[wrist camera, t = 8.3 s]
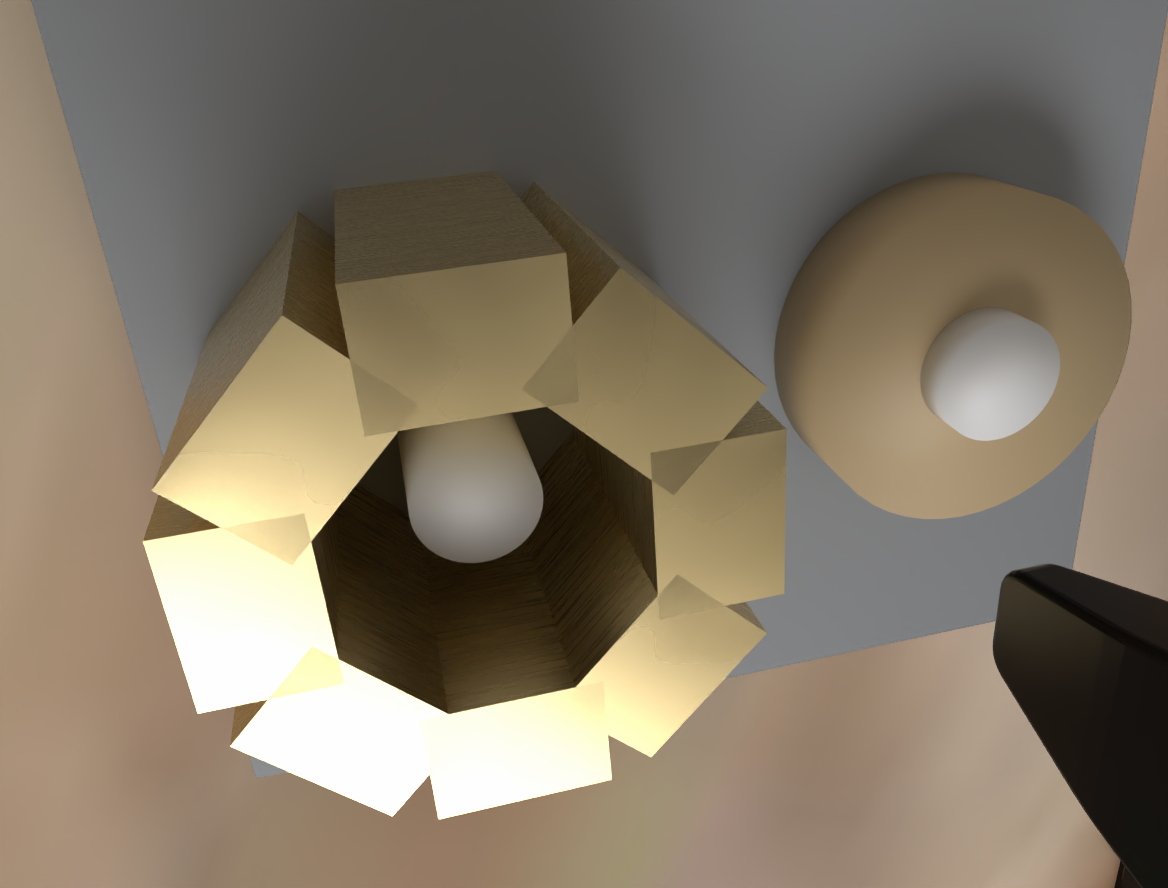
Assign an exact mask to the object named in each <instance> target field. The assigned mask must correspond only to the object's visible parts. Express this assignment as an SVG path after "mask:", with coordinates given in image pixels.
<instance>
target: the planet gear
mask: <svg viewBox="0 0 1168 888" xmlns="http://www.w3.org/2000/svg"><path fill="white" fill-rule="evenodd" d="M334 200H335V237H333V236H332V235H330V234H329V233H328V232H326V231H325V230H323V229H322V228H321V227H319V226H318V225H316V224H315V223H314V222H312V221H311V220H309V219H308V218H307V217H305V216H304V215H302V214H301V213H300V212H298V211H297V213H296V214H295V215H294V217H293V218H292V220H291V221H290V222H289V224H288V225H287V226H286V228H285V229H284V231H283V232H282V233H281V235H280V236H279V237H278V239H277V240H276V242H275V243H274V244H273V246H272V247H271V248H270V250H269V251H268V253H267V254H266V255H265V257H264V258H263V259H262V261H261V262H260V264H259V265H258V266H257V268H256V269H255V271H254V272H253V273H252V275H251V276H250V277H249V279H248V280H247V282H246V283H245V284H244V286H243V287H242V288H241V290H240V291H239V293H238V294H237V295H236V297H235V298H234V299H233V301H232V302H231V304H230V305H229V306H228V308H227V309H226V310H225V312H224V313H223V315H222V316H221V317H220V319H219V320H218V321H217V323H216V324H215V326H214V327H213V328H212V330H211V331H210V332H209V334H208V335H207V337H206V339H205V342H204V345H203V348H202V350H201V353H200V356H199V359H198V362H197V365H196V367H195V370H194V373H193V376H192V379H191V381H190V384H189V387H188V390H187V393H186V396H185V398H184V401H183V404H182V407H181V410H180V412H179V415H178V418H177V421H176V424H175V427H174V429H173V432H172V435H171V438H170V441H169V443H168V446H167V449H166V452H165V455H164V458H163V460H162V463H161V466H160V469H159V472H158V474H157V477H156V480H155V483H154V486H153V489H152V491H153V492H155V493H157V494H159V495H158V498H157V501H156V504H155V507H154V510H153V513H152V516H151V519H150V522H149V525H148V528H147V531H146V534H145V537H144V540H143V543H144V546H145V549H146V553H147V556H148V559H149V562H150V565H151V568H152V571H153V574H154V578H155V581H156V584H157V587H158V590H159V593H160V596H161V600H162V603H163V606H164V609H165V612H166V615H167V618H168V622H169V625H170V628H171V631H172V634H173V637H174V640H175V643H176V647H177V650H178V653H179V656H180V659H181V662H182V665H183V669H184V672H185V675H186V678H187V681H188V684H189V687H190V691H191V694H192V697H193V700H194V703H195V706H196V709H197V712H198V714H199V713H204V712H209V711H214V710H219V709H223V708H228V707H233V706H235V713H234V721H233V728H232V736H231V743H230V747H232V748H235V749H237V750H239V751H242V752H244V753H246V754H249V755H251V756H253V757H256V758H258V759H260V760H263V761H265V762H267V763H270V764H272V765H274V766H277V767H279V768H281V769H284V770H286V771H288V772H291V773H293V774H295V775H298V776H300V777H302V778H305V779H307V780H309V781H312V782H314V783H316V784H319V785H321V786H323V787H325V788H328V789H330V790H332V791H335V792H337V793H339V794H342V795H344V796H346V797H349V798H351V799H353V800H356V801H358V802H360V803H363V804H365V805H367V806H370V807H372V808H374V809H377V810H379V811H381V812H384V813H386V814H388V815H391V816H393V815H394V814H395V813H396V812H397V811H398V810H399V809H400V807H401V806H402V805H403V804H404V803H405V802H406V801H407V799H408V798H409V797H410V796H411V795H412V794H413V793H414V791H415V790H416V789H417V788H418V787H419V786H420V785H421V783H422V782H423V781H424V780H425V779H426V778H427V777H428V775H429V774H430V777H431V782H432V787H433V792H434V797H435V803H436V808H437V813H438V818H439V819H443V818H447V817H452V816H456V815H460V814H465V813H469V812H473V811H478V810H482V809H486V808H491V807H495V806H499V805H504V804H508V803H512V802H517V801H521V800H525V799H530V798H534V797H538V796H543V795H547V794H551V793H556V792H560V791H564V790H569V789H573V788H577V787H582V786H586V785H590V784H595V783H599V782H603V781H608V780H612V777H611V765H610V754H609V742H608V735H610V736H612V737H614V738H616V739H618V740H620V741H622V742H623V743H625V744H627V745H629V746H631V747H633V748H635V749H637V750H638V751H640V752H642V753H644V754H646V755H648V756H650V757H652V756H653V755H654V754H655V753H656V751H657V750H658V749H659V748H660V747H661V746H662V745H663V744H664V743H665V742H666V741H667V740H668V739H669V738H670V736H671V735H672V734H673V733H674V732H675V731H676V730H677V729H678V728H679V727H680V726H681V725H682V724H683V723H684V721H685V720H686V719H687V718H688V717H689V716H690V715H691V714H692V713H693V712H694V711H695V710H696V709H697V708H698V707H699V705H700V704H701V703H702V702H703V701H704V700H705V699H706V698H707V697H708V696H709V695H710V694H711V693H712V692H713V690H714V689H715V688H716V687H717V686H718V685H719V684H720V683H721V682H722V681H723V680H724V679H725V678H726V677H727V675H728V674H729V673H730V672H731V671H732V670H733V669H734V668H735V667H736V666H737V665H738V664H739V663H740V662H741V661H742V659H743V658H744V657H745V656H746V655H747V654H748V653H749V652H750V651H751V650H752V649H753V648H754V647H755V646H756V644H757V643H758V642H759V641H760V640H761V639H762V638H763V637H764V636H765V635H766V634H767V632H766V631H765V629H764V628H763V626H762V625H761V623H760V622H759V620H758V619H757V617H756V616H755V614H754V613H753V611H752V610H751V608H750V607H749V605H748V604H747V601H752V600H757V599H761V598H766V597H771V596H776V595H781V594H784V583H785V512H786V441H787V429H786V428H785V427H784V426H783V425H782V424H781V423H780V422H779V421H778V420H777V419H776V418H775V417H774V416H773V415H772V414H771V413H770V412H769V411H768V410H767V409H766V408H765V407H764V406H763V405H762V404H761V403H760V402H759V401H758V399H759V398H760V397H761V396H762V395H763V394H764V392H765V391H766V390H767V389H768V387H767V386H766V385H764V384H763V383H762V382H761V381H760V380H759V379H758V378H757V377H756V376H755V375H754V374H753V373H752V372H751V371H749V370H748V369H747V368H746V367H745V366H744V365H743V364H742V363H741V362H740V361H739V360H738V359H737V358H736V357H734V356H733V355H732V354H731V353H730V352H729V351H728V350H727V349H726V348H725V347H724V346H723V345H722V344H721V343H719V342H718V341H717V340H716V339H715V338H714V337H713V336H712V335H711V334H710V333H709V332H708V331H707V330H706V329H704V328H703V327H702V326H701V325H700V324H699V323H698V322H697V321H696V320H695V319H694V318H693V317H692V316H691V315H689V314H688V313H687V312H686V311H685V310H684V309H683V308H682V307H681V306H680V305H679V304H678V303H677V302H676V301H674V300H673V299H672V298H671V297H670V296H669V295H668V294H667V293H666V292H665V291H664V290H663V289H662V288H661V287H659V286H658V285H657V284H656V283H655V282H654V281H653V280H652V279H651V278H650V277H649V276H648V275H647V274H645V273H644V272H643V271H642V270H641V269H639V268H638V267H637V266H636V265H635V264H633V263H632V262H631V261H630V260H629V259H627V258H626V257H625V256H624V255H622V254H621V253H620V252H619V251H618V250H616V249H615V248H614V247H613V246H612V245H610V244H609V243H608V242H607V241H605V240H604V239H603V238H602V237H601V236H599V235H598V234H597V233H596V232H595V231H593V230H592V229H591V228H590V227H589V226H587V225H586V224H585V223H584V222H582V221H581V220H580V219H579V218H578V217H576V216H575V215H574V214H573V213H572V212H570V211H569V210H568V209H567V208H565V207H564V206H563V205H562V204H561V203H559V202H558V201H557V200H556V199H555V198H553V197H552V196H551V195H550V194H549V193H547V192H546V191H545V190H544V189H542V188H541V187H540V186H539V185H538V184H536V183H535V182H534V183H533V184H532V186H531V187H530V188H529V189H528V191H527V192H526V193H525V195H524V196H523V197H522V198H521V200H520V199H519V197H518V196H517V195H516V194H515V193H514V192H513V190H512V189H511V188H510V187H509V186H508V185H507V183H506V182H505V181H504V180H503V179H502V178H501V176H500V175H499V174H498V173H497V172H496V171H487V172H478V173H470V174H462V175H454V176H445V177H437V178H429V179H421V180H412V181H404V182H396V183H388V184H379V185H371V186H363V187H355V188H346V189H338V190H334ZM542 407H548V408H549V409H551V410H552V411H554V412H555V413H557V414H558V415H559V416H561V417H562V418H564V419H565V420H566V421H568V422H569V423H571V431H572V433H571V434H570V435H569V436H568V437H567V438H566V440H565V441H564V442H563V443H562V444H561V446H560V447H559V448H558V449H557V450H556V452H555V453H554V454H553V455H552V456H551V458H550V459H549V460H548V461H547V462H546V464H545V465H544V466H543V467H542V468H541V470H540V471H539V472H538V473H537V474H538V476H539V479H540V482H541V485H542V490H543V508H542V512H541V516H540V518H539V521H538V523H537V525H536V527H535V528H534V530H533V532H532V533H531V534H530V536H529V537H528V538H527V539H526V540H525V541H524V542H523V543H522V544H521V545H520V546H518V547H517V548H516V549H514V550H513V551H511V552H510V553H508V554H506V555H504V556H502V557H499V558H496V559H494V560H490V561H486V562H479V563H463V562H456V561H452V560H449V559H446V558H443V557H441V556H439V555H437V554H435V553H434V552H432V551H431V550H429V549H428V548H427V547H426V546H425V545H424V544H423V543H422V542H421V541H420V540H419V538H418V537H417V535H416V534H415V532H414V530H413V528H412V525H411V522H410V518H409V515H408V514H407V513H405V512H403V511H402V510H400V509H398V508H397V507H395V506H393V505H392V504H390V503H388V502H386V501H385V500H383V499H381V498H380V497H378V496H376V495H375V494H373V493H371V492H370V491H368V490H366V489H365V488H363V487H361V486H360V485H358V484H357V483H358V482H359V481H360V479H361V478H362V477H363V476H364V474H365V473H366V472H367V471H368V469H369V468H370V467H371V465H372V464H373V463H374V462H375V460H376V459H377V458H378V457H379V455H380V454H381V453H382V452H383V450H384V449H385V448H386V447H387V445H388V444H389V443H390V442H391V440H392V439H393V438H394V436H395V435H396V434H397V433H398V431H402V430H408V429H414V428H420V427H426V426H432V425H438V424H444V423H451V422H457V421H463V420H469V419H475V418H481V417H487V416H493V415H500V414H506V413H512V412H518V411H524V410H530V409H536V408H542Z"/></svg>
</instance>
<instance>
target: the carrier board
mask: <svg viewBox="0 0 1168 888" xmlns="http://www.w3.org/2000/svg"><path fill="white" fill-rule="evenodd" d="M31 2H32V5H33V9H34V12H35V16H36V19H37V23H38V26H39V30H40V33H41V37H42V40H43V43H44V47H45V50H46V54H47V57H48V61H49V64H50V68H51V71H52V75H53V78H54V81H55V85H56V88H57V92H58V95H59V99H60V102H61V106H62V109H63V113H64V116H65V120H66V123H67V126H68V130H69V133H70V137H71V140H72V144H73V147H74V151H75V154H76V158H77V161H78V165H79V168H80V171H81V175H82V178H83V182H84V185H85V189H86V192H87V196H88V199H89V203H90V206H91V209H92V213H93V216H94V220H95V223H96V227H97V230H98V234H99V237H100V241H101V244H102V248H103V251H104V254H105V258H106V261H107V265H108V268H109V272H110V275H111V279H112V282H113V286H114V289H115V293H116V296H117V299H118V303H119V306H120V310H121V313H122V317H123V320H124V324H125V327H126V331H127V334H128V337H129V341H130V344H131V348H132V351H133V355H134V358H135V362H136V365H137V369H138V372H139V376H140V379H141V382H142V386H143V389H144V393H145V396H146V400H147V403H148V407H149V410H150V414H151V417H152V421H153V424H154V427H155V431H156V434H157V438H158V441H159V445H160V448H161V452H162V455H163V458H164V455H165V452H166V449H167V446H168V443H169V441H170V438H171V435H172V432H173V429H174V427H175V424H176V421H177V418H178V415H179V412H180V410H181V407H182V404H183V401H184V398H185V396H186V393H187V390H188V387H189V384H190V381H191V379H192V376H193V373H194V370H195V367H196V365H197V362H198V359H199V356H200V353H201V350H202V348H203V345H204V342H205V339H206V337H207V335H208V334H209V332H210V331H211V330H212V328H213V327H214V326H215V324H216V323H217V321H218V320H219V319H220V317H221V316H222V315H223V313H224V312H225V310H226V309H227V308H228V306H229V305H230V304H231V302H232V301H233V299H234V298H235V297H236V295H237V294H238V293H239V291H240V290H241V288H242V287H243V286H244V284H245V283H246V282H247V280H248V279H249V277H250V276H251V275H252V273H253V272H254V271H255V269H256V268H257V266H258V265H259V264H260V262H261V261H262V259H263V258H264V257H265V255H266V254H267V253H268V251H269V250H270V248H271V247H272V246H273V244H274V243H275V242H276V240H277V239H278V237H279V236H280V235H281V233H282V232H283V231H284V229H285V228H286V226H287V225H288V224H289V222H290V221H291V220H292V218H293V217H294V215H295V214H296V213H297V211H298V212H300V213H301V214H302V215H304V216H305V217H307V218H308V219H309V220H311V221H312V222H314V223H315V224H316V225H318V226H319V227H321V228H322V229H323V230H325V231H326V232H328V233H329V234H330V235H332V236H333V237H335V200H334V190H338V189H346V188H355V187H363V186H371V185H379V184H388V183H396V182H404V181H412V180H421V179H429V178H437V177H445V176H454V175H462V174H470V173H478V172H487V171H496V172H497V173H498V174H499V175H500V176H501V178H502V179H503V180H504V181H505V182H506V183H507V185H508V186H509V187H510V188H511V189H512V190H513V192H514V193H515V194H516V195H517V196H518V197H519V199H520V200H521V198H522V197H523V196H524V195H525V193H526V192H527V191H528V189H529V188H530V187H531V186H532V184H533V183H534V182H535V183H536V184H538V185H539V186H540V187H541V188H542V189H544V190H545V191H546V192H547V193H549V194H550V195H551V196H552V197H553V198H555V199H556V200H557V201H558V202H559V203H561V204H562V205H563V206H564V207H565V208H567V209H568V210H569V211H570V212H572V213H573V214H574V215H575V216H576V217H578V218H579V219H580V220H581V221H582V222H584V223H585V224H586V225H587V226H589V227H590V228H591V229H592V230H593V231H595V232H596V233H597V234H598V235H599V236H601V237H602V238H603V239H604V240H605V241H607V242H608V243H609V244H610V245H612V246H613V247H614V248H615V249H616V250H618V251H619V252H620V253H621V254H622V255H624V256H625V257H626V258H627V259H629V260H630V261H631V262H632V263H633V264H635V265H636V266H637V267H638V268H639V269H641V270H642V271H643V272H644V273H645V274H647V275H648V276H649V277H650V278H651V279H652V280H653V281H654V282H655V283H656V284H657V285H658V286H659V287H661V288H662V289H663V290H664V291H665V292H666V293H667V294H668V295H669V296H670V297H671V298H672V299H673V300H674V301H676V302H677V303H678V304H679V305H680V306H681V307H682V308H683V309H684V310H685V311H686V312H687V313H688V314H689V315H691V316H692V317H693V318H694V319H695V320H696V321H697V322H698V323H699V324H700V325H701V326H702V327H703V328H704V329H706V330H707V331H708V332H709V333H710V334H711V335H712V336H713V337H714V338H715V339H716V340H717V341H718V342H719V343H721V344H722V345H723V346H724V347H725V348H726V349H727V350H728V351H729V352H730V353H731V354H732V355H733V356H734V357H736V358H737V359H738V360H739V361H740V362H741V363H742V364H743V365H744V366H745V367H746V368H747V369H748V370H749V371H751V372H752V373H753V374H754V375H755V376H756V377H757V378H758V379H759V380H760V381H761V382H762V383H763V384H764V385H766V386H767V387H768V389H767V390H766V391H765V392H764V394H763V395H762V396H761V397H760V398H759V399H758V401H759V402H760V403H761V404H762V405H763V406H764V407H765V408H766V409H767V410H768V411H769V412H770V413H771V414H772V415H773V416H774V417H775V418H776V419H777V420H778V421H779V422H780V423H781V424H782V425H783V426H784V427H785V428H786V429H787V441H786V512H785V583H784V594H781V595H776V596H771V597H766V598H761V599H757V600H752V601H747V604H748V605H749V607H750V608H751V610H752V611H753V613H754V614H755V616H756V617H757V619H758V620H759V622H760V623H761V625H762V626H763V628H764V629H765V631H766V632H767V634H766V635H765V636H764V637H763V638H762V639H761V640H760V641H759V642H758V643H757V644H756V646H755V647H754V648H753V649H752V650H751V651H750V652H749V653H748V654H747V655H746V656H745V657H744V658H743V659H742V661H741V662H740V663H739V664H738V665H737V666H736V667H735V668H734V669H733V670H732V671H731V672H730V673H729V674H728V675H727V677H726V678H730V677H735V676H739V675H744V674H749V673H753V672H758V671H763V670H768V669H772V668H777V667H782V666H786V665H791V664H796V663H800V662H805V661H810V660H814V659H819V658H824V657H829V656H833V655H838V654H843V653H847V652H852V651H857V650H861V649H866V648H871V647H875V646H880V645H885V644H890V643H894V642H899V641H904V640H908V639H913V638H918V637H922V636H927V635H932V634H936V633H941V632H946V631H951V630H955V629H960V628H965V627H969V626H974V625H979V624H983V623H988V622H993V621H996V616H997V609H998V601H999V594H1000V587H1001V583H1002V581H1003V579H1004V577H1005V576H1006V574H1008V573H1009V572H1011V571H1013V570H1016V569H1021V568H1026V567H1031V566H1035V565H1040V564H1056V565H1059V566H1062V567H1065V568H1068V569H1071V570H1072V568H1073V562H1074V556H1075V551H1076V545H1077V539H1078V533H1079V527H1080V521H1081V515H1082V510H1083V504H1084V498H1085V492H1086V486H1087V480H1088V474H1089V469H1090V463H1091V457H1092V451H1093V445H1094V439H1095V433H1096V428H1097V422H1098V418H1099V416H1100V415H1101V413H1102V411H1103V410H1104V408H1105V406H1106V405H1107V403H1108V401H1109V399H1110V397H1111V395H1112V392H1113V390H1114V388H1115V386H1116V384H1117V381H1118V379H1119V376H1120V373H1121V370H1122V367H1123V365H1124V361H1125V357H1126V353H1127V349H1128V344H1129V338H1130V330H1131V295H1130V288H1129V281H1128V278H1127V274H1126V271H1125V268H1124V264H1125V258H1126V252H1127V246H1128V240H1129V234H1130V228H1131V223H1132V217H1133V211H1134V205H1135V199H1136V193H1137V187H1138V182H1139V176H1140V170H1141V164H1142V158H1143V152H1144V146H1145V141H1146V135H1147V129H1148V123H1149V117H1150V111H1151V105H1152V100H1153V94H1154V88H1155V82H1156V76H1157V70H1158V64H1159V59H1160V53H1161V47H1162V41H1163V35H1164V29H1165V23H1166V18H1167V12H1168V0H31ZM571 433H572V431H571V423H569V422H568V421H566V420H565V419H564V418H562V417H561V416H559V415H558V414H557V413H555V412H554V411H552V410H551V409H549V408H548V407H542V408H536V409H530V410H524V411H518V412H512V413H506V414H500V415H493V416H487V417H481V418H475V419H469V420H463V421H457V422H451V423H444V424H438V425H432V426H426V427H420V428H414V429H408V430H402V431H398V433H397V434H396V435H395V436H394V438H393V439H392V440H391V442H390V443H389V444H388V445H387V447H386V448H385V449H384V450H383V452H382V453H381V454H380V455H379V457H378V458H377V459H376V460H375V462H374V463H373V464H372V465H371V467H370V468H369V469H368V471H367V472H366V473H365V474H364V476H363V477H362V478H361V479H360V481H359V482H358V483H357V484H358V485H360V486H361V487H363V488H365V489H366V490H368V491H370V492H371V493H373V494H375V495H376V496H378V497H380V498H381V499H383V500H385V501H386V502H388V503H390V504H392V505H393V506H395V507H397V508H398V509H400V510H402V511H403V512H405V513H407V514H408V515H409V518H410V522H411V525H412V528H413V530H414V532H415V534H416V535H417V537H418V538H419V540H420V541H421V542H422V543H423V544H424V545H425V546H426V547H427V548H428V549H429V550H431V551H432V552H434V553H435V554H437V555H439V556H441V557H443V558H446V559H449V560H452V561H456V562H463V563H479V562H486V561H490V560H494V559H496V558H499V557H502V556H504V555H506V554H508V553H510V552H511V551H513V550H514V549H516V548H517V547H518V546H520V545H521V544H522V543H523V542H524V541H525V540H526V539H527V538H528V537H529V536H530V534H531V533H532V532H533V530H534V528H535V527H536V525H537V523H538V521H539V518H540V516H541V512H542V508H543V490H542V485H541V482H540V479H539V476H538V474H537V473H538V472H539V471H540V470H541V468H542V467H543V466H544V465H545V464H546V462H547V461H548V460H549V459H550V458H551V456H552V455H553V454H554V453H555V452H556V450H557V449H558V448H559V447H560V446H561V444H562V443H563V442H564V441H565V440H566V438H567V437H568V436H569V435H570V434H571ZM249 756H250V760H251V763H252V766H253V770H254V773H255V777H256V778H261V777H266V776H270V775H275V774H280V773H284V772H288V771H286V770H284V769H281V768H279V767H277V766H274V765H272V764H270V763H267V762H265V761H263V760H260V759H258V758H256V757H253V756H251V755H249Z"/></svg>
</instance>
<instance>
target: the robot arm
mask: <svg viewBox="0 0 1168 888" xmlns="http://www.w3.org/2000/svg"><path fill="white" fill-rule="evenodd" d="M993 655H994V659H995V663H996V666H997V668H998V670H999V672H1000V674H1001V676H1002V678H1003V679H1004V681H1005V683H1006V684H1007V686H1008V688H1009V689H1010V691H1011V692H1012V694H1013V696H1014V697H1015V699H1016V701H1017V702H1018V704H1019V706H1020V707H1021V709H1022V710H1023V712H1024V714H1025V715H1026V717H1027V719H1028V720H1029V722H1030V723H1031V725H1032V727H1033V728H1034V730H1035V732H1036V733H1037V735H1038V736H1039V738H1040V740H1041V741H1042V743H1043V745H1044V746H1045V748H1046V750H1047V751H1048V753H1049V754H1050V756H1051V758H1052V759H1053V761H1054V763H1055V764H1056V766H1057V767H1058V769H1059V771H1060V772H1061V774H1062V776H1063V777H1064V779H1065V781H1066V782H1067V784H1068V785H1069V787H1070V789H1071V790H1072V792H1073V793H1074V795H1075V797H1076V798H1077V800H1078V801H1079V803H1080V804H1081V806H1082V807H1083V809H1084V810H1085V812H1086V813H1087V815H1088V816H1089V818H1090V819H1091V821H1092V822H1093V823H1094V825H1095V826H1096V828H1097V829H1098V830H1099V832H1100V833H1101V834H1102V836H1103V837H1104V839H1105V840H1106V841H1107V843H1108V844H1109V845H1110V847H1111V848H1112V849H1113V851H1114V852H1115V853H1116V855H1117V856H1118V857H1119V859H1120V860H1121V862H1120V866H1119V870H1118V875H1117V879H1116V883H1115V888H1168V601H1165V600H1162V599H1159V598H1156V597H1153V596H1150V595H1147V594H1144V593H1141V592H1138V591H1135V590H1132V589H1129V588H1126V587H1123V586H1120V585H1117V584H1114V583H1111V582H1108V581H1105V580H1102V579H1099V578H1096V577H1093V576H1090V575H1087V574H1083V573H1080V572H1077V571H1074V570H1071V569H1068V568H1065V567H1062V566H1059V565H1056V564H1040V565H1035V566H1031V567H1026V568H1021V569H1016V570H1013V571H1011V572H1009V573H1008V574H1006V576H1005V577H1004V579H1003V581H1002V583H1001V587H1000V594H999V601H998V609H997V616H996V623H995V631H994V638H993Z"/></svg>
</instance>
